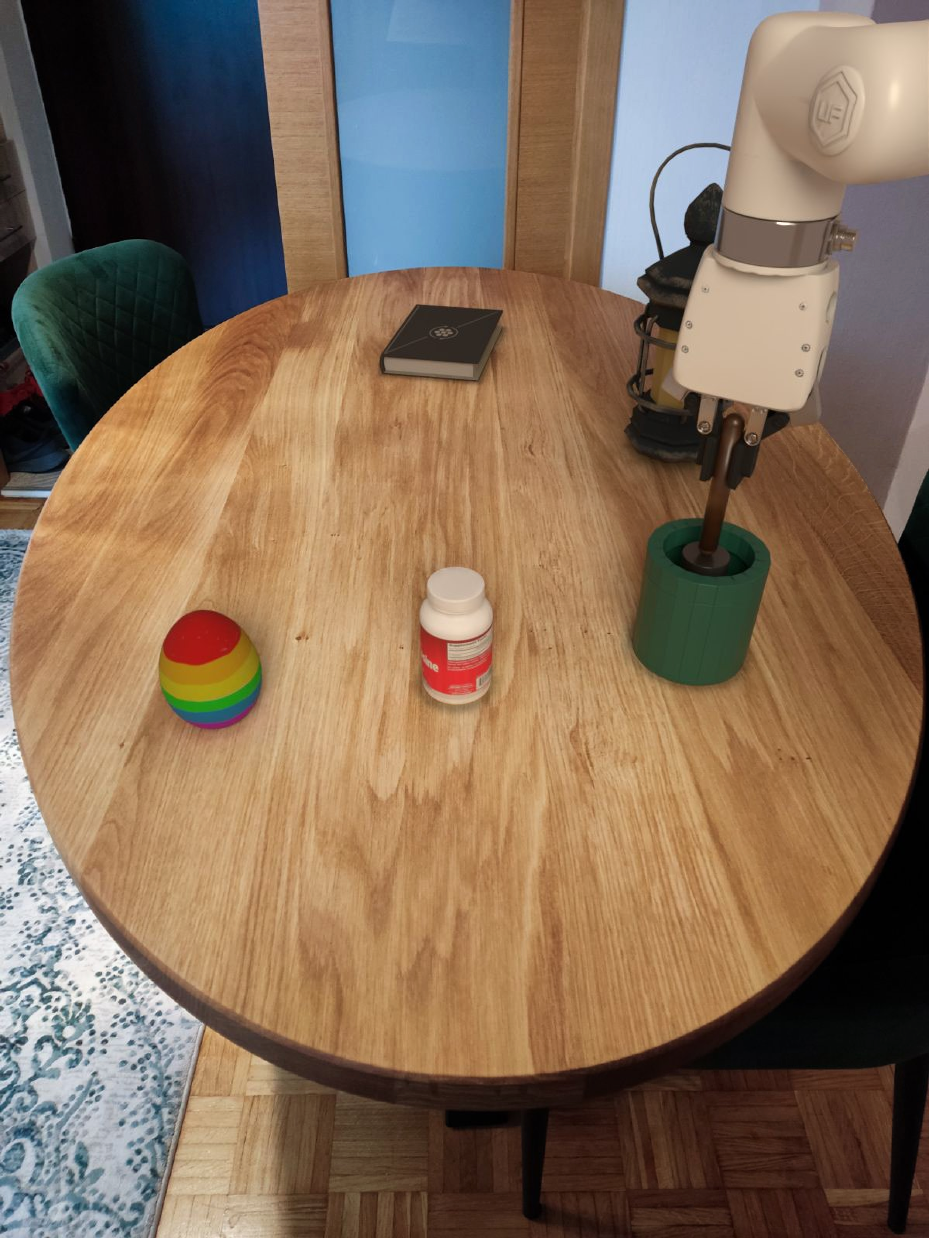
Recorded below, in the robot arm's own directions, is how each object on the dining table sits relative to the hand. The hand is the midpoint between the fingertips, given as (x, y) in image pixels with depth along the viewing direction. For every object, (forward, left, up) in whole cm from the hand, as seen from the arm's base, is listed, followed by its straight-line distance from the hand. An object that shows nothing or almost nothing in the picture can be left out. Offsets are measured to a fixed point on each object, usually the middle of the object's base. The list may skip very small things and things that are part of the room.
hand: (722, 476), depth 70 cm
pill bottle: (+16, +15, -18) cm, 28 cm away
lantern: (+15, -36, -18) cm, 43 cm away
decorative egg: (+32, +28, -18) cm, 46 cm away
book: (+57, -49, -18) cm, 77 cm away
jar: (0, 0, -18) cm, 18 cm away
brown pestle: (0, 0, -11) cm, 11 cm away
